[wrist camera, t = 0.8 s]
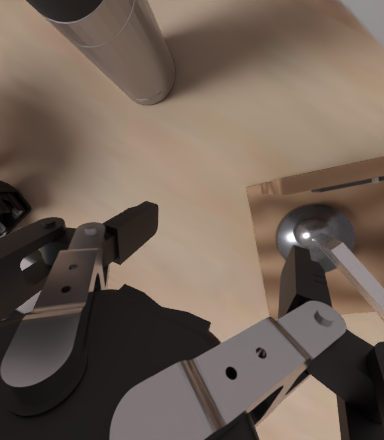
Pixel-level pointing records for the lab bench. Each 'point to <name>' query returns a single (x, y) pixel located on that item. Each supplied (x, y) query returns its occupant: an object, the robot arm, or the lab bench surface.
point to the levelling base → (334, 197)
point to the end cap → (11, 208)
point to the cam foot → (329, 247)
